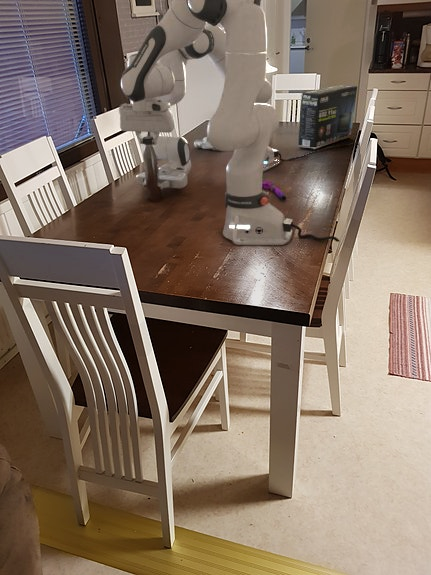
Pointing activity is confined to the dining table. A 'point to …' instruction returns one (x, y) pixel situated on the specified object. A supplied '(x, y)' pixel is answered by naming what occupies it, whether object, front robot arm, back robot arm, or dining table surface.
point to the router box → (326, 115)
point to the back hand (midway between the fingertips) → (152, 186)
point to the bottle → (151, 173)
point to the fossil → (204, 144)
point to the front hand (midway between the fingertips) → (148, 144)
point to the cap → (147, 140)
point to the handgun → (273, 189)
